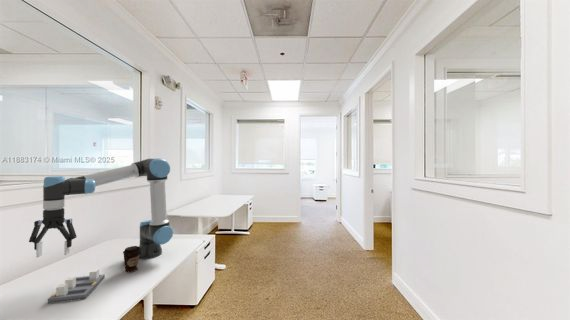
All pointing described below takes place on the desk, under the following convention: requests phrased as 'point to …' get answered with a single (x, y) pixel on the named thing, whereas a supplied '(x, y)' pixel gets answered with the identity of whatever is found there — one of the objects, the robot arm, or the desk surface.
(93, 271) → the tab
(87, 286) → the switch board
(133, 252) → the coffee cup
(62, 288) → the tab
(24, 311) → the desk surface
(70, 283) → the tab
